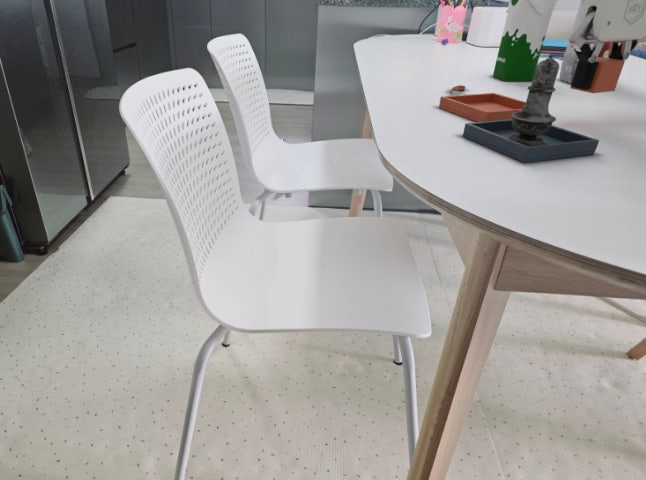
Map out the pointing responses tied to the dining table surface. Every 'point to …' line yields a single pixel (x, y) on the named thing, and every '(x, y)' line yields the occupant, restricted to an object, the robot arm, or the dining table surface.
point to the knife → (457, 90)
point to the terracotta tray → (482, 106)
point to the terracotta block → (605, 75)
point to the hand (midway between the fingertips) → (593, 85)
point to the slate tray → (556, 146)
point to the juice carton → (570, 54)
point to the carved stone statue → (536, 106)
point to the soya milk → (523, 39)
